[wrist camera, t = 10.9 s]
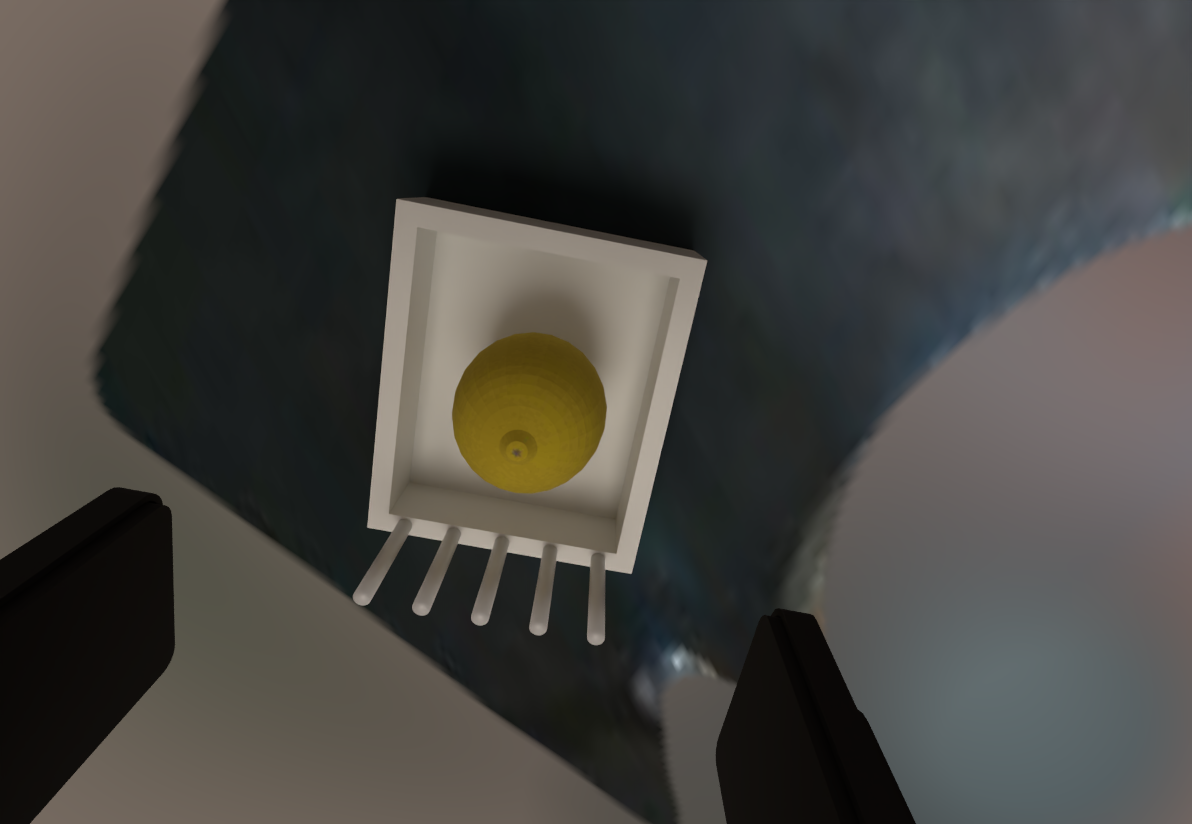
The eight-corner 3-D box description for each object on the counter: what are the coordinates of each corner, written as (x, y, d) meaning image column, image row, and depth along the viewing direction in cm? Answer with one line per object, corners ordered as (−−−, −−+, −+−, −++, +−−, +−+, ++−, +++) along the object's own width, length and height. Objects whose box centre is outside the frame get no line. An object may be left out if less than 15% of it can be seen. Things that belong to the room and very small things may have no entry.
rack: (425, 197, 26) (341, 202, 18) (693, 250, 27) (732, 279, 19) (395, 487, 31) (316, 600, 22) (628, 528, 31) (636, 654, 23)
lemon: (450, 384, 28) (391, 459, 21) (532, 286, 27) (502, 327, 19) (549, 464, 29) (529, 562, 22) (634, 374, 28) (643, 445, 20)
